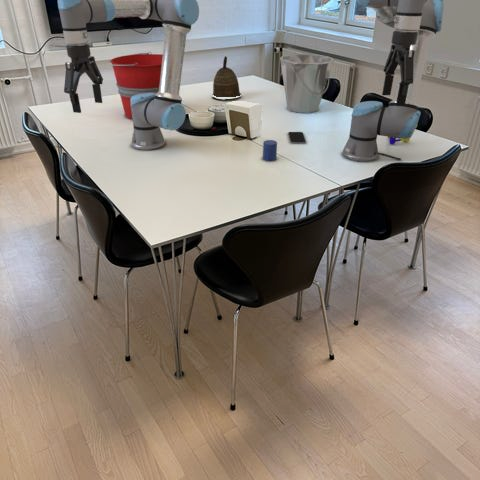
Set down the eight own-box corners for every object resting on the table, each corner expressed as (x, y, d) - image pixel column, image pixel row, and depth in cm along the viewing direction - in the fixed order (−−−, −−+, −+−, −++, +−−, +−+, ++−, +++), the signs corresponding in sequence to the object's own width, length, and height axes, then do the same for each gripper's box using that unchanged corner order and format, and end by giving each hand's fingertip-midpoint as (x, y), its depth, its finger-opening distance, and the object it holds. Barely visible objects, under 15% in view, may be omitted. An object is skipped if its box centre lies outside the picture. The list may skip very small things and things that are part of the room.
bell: (227, 105, 294) (202, 96, 282) (238, 66, 289) (213, 55, 277) (243, 108, 280) (217, 98, 268) (255, 66, 275) (229, 55, 263)
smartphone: (290, 142, 209) (288, 131, 222) (290, 143, 209) (288, 133, 222) (306, 142, 209) (302, 131, 221) (305, 143, 209) (302, 133, 222)
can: (278, 158, 194) (279, 141, 190) (272, 162, 189) (273, 145, 185) (266, 155, 196) (267, 139, 192) (260, 159, 192) (261, 143, 188)
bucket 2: (304, 119, 242) (309, 65, 227) (267, 107, 261) (268, 57, 246) (338, 109, 259) (345, 58, 244) (301, 99, 278) (304, 51, 263)
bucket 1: (124, 105, 264) (117, 51, 248) (182, 105, 263) (179, 51, 247) (107, 122, 235) (98, 62, 219) (173, 123, 234) (169, 63, 218)
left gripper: (64, 50, 138) (77, 117, 149) (107, 39, 158) (115, 99, 170) (43, 49, 140) (58, 115, 151) (88, 38, 160) (98, 98, 172)
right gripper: (381, 26, 149) (370, 91, 160) (409, 35, 127) (395, 109, 138) (402, 26, 149) (391, 91, 160) (434, 35, 128) (418, 109, 139)
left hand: (88, 107), depth 161 cm, fingers open, 13 cm apart
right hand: (392, 99), depth 149 cm, fingers open, 13 cm apart
